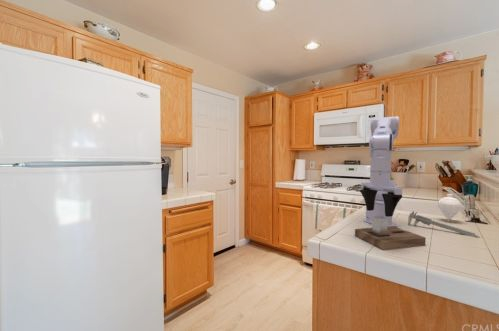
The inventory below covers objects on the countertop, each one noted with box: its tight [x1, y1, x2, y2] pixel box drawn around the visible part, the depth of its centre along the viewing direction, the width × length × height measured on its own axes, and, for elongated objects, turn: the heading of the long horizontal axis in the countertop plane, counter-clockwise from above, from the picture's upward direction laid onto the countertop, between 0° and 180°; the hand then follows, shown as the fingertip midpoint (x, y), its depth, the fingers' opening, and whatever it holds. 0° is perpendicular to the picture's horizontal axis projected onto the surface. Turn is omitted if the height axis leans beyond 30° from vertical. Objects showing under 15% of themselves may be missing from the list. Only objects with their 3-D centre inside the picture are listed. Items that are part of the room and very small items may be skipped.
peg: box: [371, 216, 388, 237], centre depth 72 cm, size 3×3×8 cm
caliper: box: [407, 210, 481, 239], centre depth 83 cm, size 20×1×6 cm, turn 46°
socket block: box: [354, 226, 427, 251], centre depth 73 cm, size 12×16×2 cm
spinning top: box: [437, 193, 463, 223], centre depth 95 cm, size 8×8×12 cm
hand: (379, 213), depth 72 cm, fingers open, 7 cm apart
